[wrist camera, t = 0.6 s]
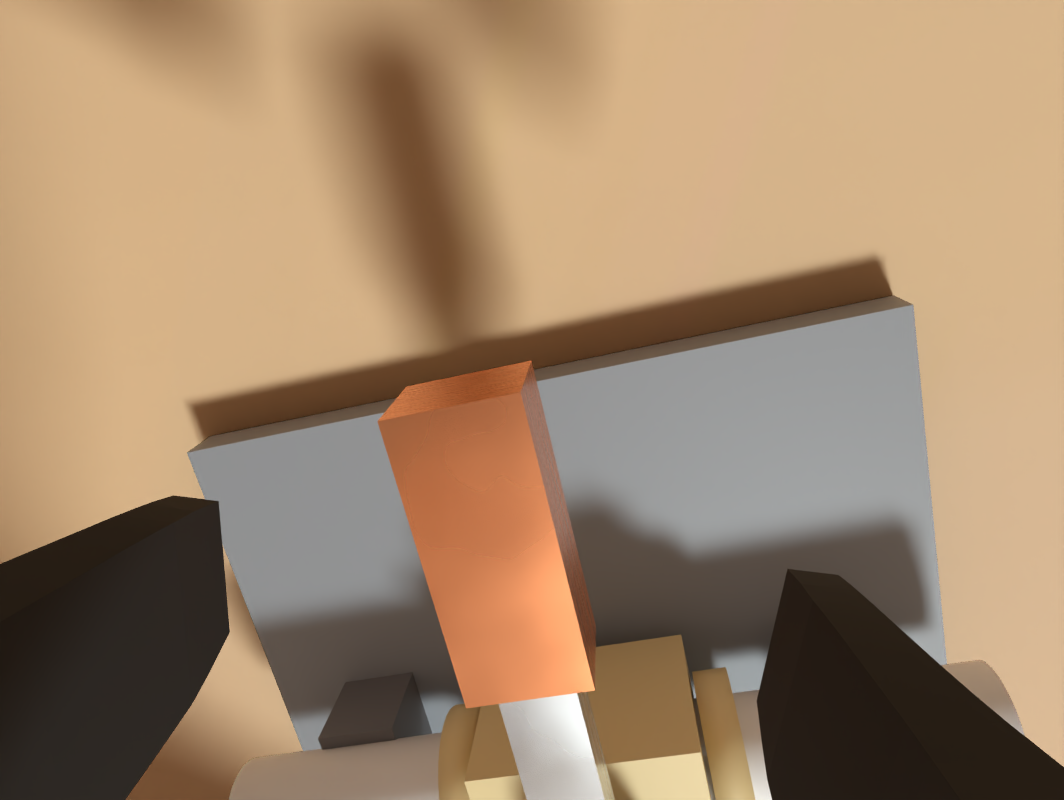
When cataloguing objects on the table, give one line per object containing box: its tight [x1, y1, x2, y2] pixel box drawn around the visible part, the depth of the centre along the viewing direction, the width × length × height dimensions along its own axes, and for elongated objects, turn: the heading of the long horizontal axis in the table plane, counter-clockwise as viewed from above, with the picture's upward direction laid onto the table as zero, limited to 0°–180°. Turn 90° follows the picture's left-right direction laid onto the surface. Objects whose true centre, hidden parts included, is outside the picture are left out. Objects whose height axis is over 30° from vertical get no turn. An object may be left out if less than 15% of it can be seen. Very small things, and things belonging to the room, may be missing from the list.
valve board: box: [187, 296, 1025, 800], centre depth 18 cm, size 18×14×6 cm
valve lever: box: [377, 361, 615, 800], centre depth 14 cm, size 12×2×2 cm, turn 13°
